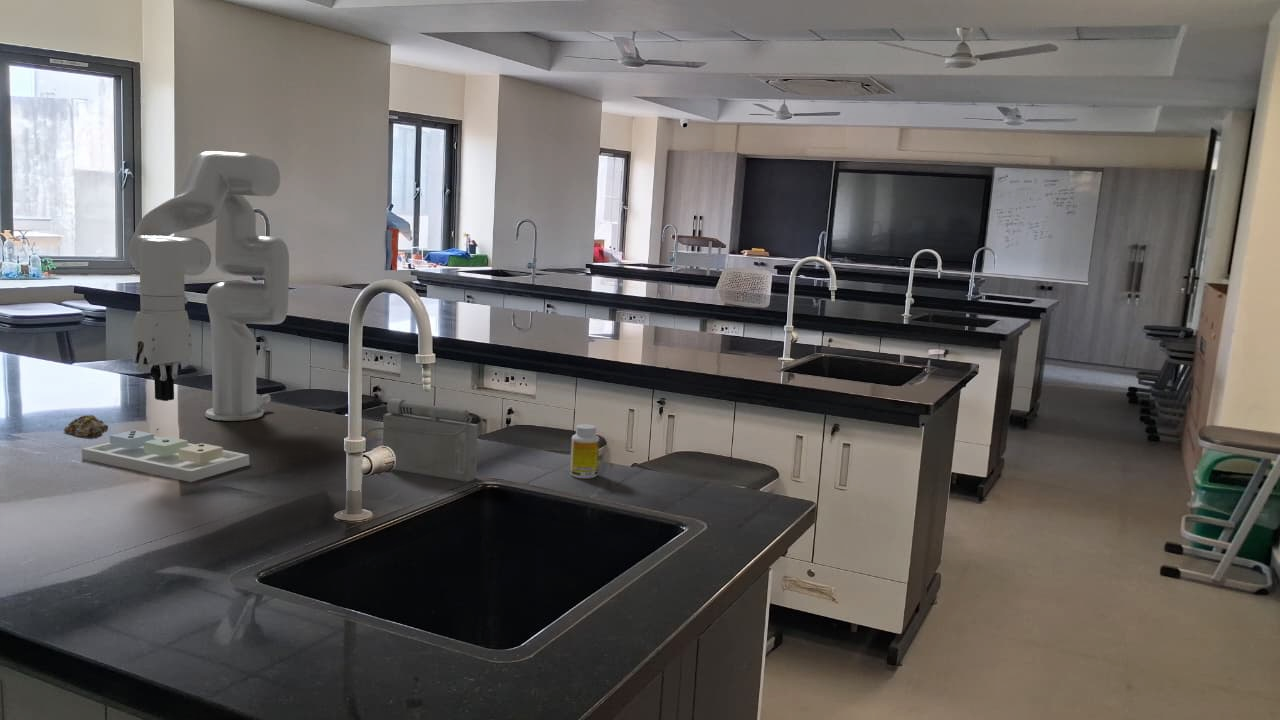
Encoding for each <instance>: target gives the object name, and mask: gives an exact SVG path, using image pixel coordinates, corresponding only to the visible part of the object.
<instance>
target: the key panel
mask: <svg viewBox="0 0 1280 720" xmlns="http://www.w3.org/2000/svg"><path fill="white" fill-rule="evenodd" d="M159 438H161V436H160V437H159V436H155V435H154V440H155V439H159ZM192 445H196V443H190V442H188V446H192ZM81 459H82V460H86V461H91V462H95V463H101V464H104V465H109V466H114V467H120V468H123V469H128V470H132V471H137V472H140V473H141V472H142V473H148V474H152V475H156V476H159V477H160V476H161V477H165V478H169V477H170V479H176V480H180V481H183V482H189V483H192V482H196V481H199V480H203V479H205V478H209V477H213V476H217V475H219V474H223V473H227V472H229V471H232V470H233V471H234V470H237V469H240V468H243V467H247V466H250V454H246V453H242V452H238V451H237V452H236V451H230V450H225V449H223V457H222V458H219V459H215V460H212V461H208V462H204V463H201V464H199V463H195V462H190V461H185V460H180V459H179V453H176V454H172V455H168V456H160V455H155V454H150V453H145V452H144V446H143V447H138V448H134V449H126V448H121V447H116V446H111V445H110V442H105V443H102V444H96V445H92V446H88V447H83V448H81Z"/></svg>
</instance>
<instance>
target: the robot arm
mask: <svg viewBox="0 0 1280 720" xmlns="http://www.w3.org/2000/svg"><path fill="white" fill-rule="evenodd" d="M280 185H281V173H280V168H279V167H278V165H277V163H276V162H275V161H274V160H273V159H271V158H270V157H263V156H260V155H257V154H252V153H246V152H234V151H232V152H231V151H219V150H208V151H202V152H199V153H198V154H197V155H195V156H194V157H193V159H192V160H191V163H190V165H189V167H188V169H187V171H186V174H185V176H184V179H183V182H182V183H181V185H180V188H179V190H178V194H177V195H176V196H175V197H172V198H170V199H168V200H166V201H165V202H163V203H161V204H160V205H158V206H156V207H155V208H153V209H151V210H150V211H149V212H147V213H146V214H145V215H144V216H143V217H142V218H141V219H140V221H139V223H138V224H137V226H136V228H135V231H134V233H133V235H132V238H131V239H130V244H129V249H128V259H129V263H130V264H131V267H133V269H135V270H136V271H138V272H139V297H140V299H139V300H140V303H139V304H140V311H136V314H135V318H134V323H133V329H132V341H131V342H132V343H131V344H132V345H131V357H132V362H134V364H137V372H140V373H146V374H149V376H150V378H151V379H152V380H154V398H155V400H158V401H163V402H169V401H174V400H175V380H176V379H177V377H178V373H179V372H180V370H181V369H184V368H186V367H188V366H189V365H190V359H191V358H192V357H191V356H192V346H193V345H192V334H191V333H192V332H191V325H190V318H189V314H188V311H187V310H186V306H185V305H187V303H188V300H189V299H188V297H186V296H185V294H186V293H185V276H188V277H189V276H194V277H195V276H199V275H201V274H203V273H204V272H206V271H207V270H208V269H209V267H210V264H211V261H212V252H211V249H210V247H209V245H208V244H207V243H206V242H205V241H204V240H203V239H199V238H197V237H194V236H193V237H192V236H177V235H174V234H177V233H179V232H183V231H187V230H193V229H195V228H198V227H202V226H204V225H207V224H211V223H212V222H214V221H215V248H214V250H215V251H214V252H215V253H214V254H215V257H214V258H215V265H216V268H217V270H218V271H219V273H222V274H224V275H228V276H235V277H236V276H237V277H253V278H263V279H264V280H265V283H264V282H248V281H221V282H217V283H215V284H212V286H211V287H210V288H209V289H208V291H207V293H206V307H207V310H208V316H209V323H210V331H211V365H212V366H211V367H212V368H211V369H212V371H211V372H212V373H211V374H212V375H211V376H212V378H211V379H212V380H211V381H212V407H211V408H208V409H207V410H206V411H205V417H206V418H207V419H209V418H210V420H212V421H213V420H214V421H221V420H222V421H221V422H223V421H224V422H225V421H226V422H238V421H239V422H240V421H248V420H255V419H258V418H260V417H261V418H262V416H263V415H264V409H263V408H261V407H260V406H261V405H262V404H267V403H270V402H271V400H272V397H271V395H270V394H268V393H267V394H262V395H260V394H257V343H256V339H255V336H254V335H253V333H252V332H251V330H250V329H249V327H248V326H247V324H248V325H249V324H252V325H253V324H254V325H279V324H282V323H283V322H284V321H285V320H286V318H287V317H288V316H287V315H288V311H289V310H288V309H289V289H290V287H289V282H290V280H289V279H290V256H289V255H290V254H289V249H288V246H287V244H286V242H285V241H284V240H282V239H281V238H280V237H276V236H269V235H268V236H267V235H266V236H265V235H257V230H256V229H257V227H256V226H257V224H256V223H257V221H256V220H257V214H256V211H255V210H254V208H253V206H252V205H251V203H250V202H249V200H248V199H247V198H246V197H245V196H251V197H252V196H253V197H266V198H267V197H272V196H274V195H275V194H276V193H277V192H278V190H279V188H280ZM172 234H173V235H172Z"/></svg>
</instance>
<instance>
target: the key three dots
mask: <svg viewBox="0 0 1280 720" xmlns="http://www.w3.org/2000/svg"><path fill="white" fill-rule="evenodd" d="M154 436H155V433H150V432H146V431H140V430H137V429H135V430H134V429H133V430H129V431H124V432H120V433H116V434H110V436H109V441H110V445H111V446H116V447H121V448H126V449H134V448H138V447H143V446H144V442H146V441H150V440H154Z"/></svg>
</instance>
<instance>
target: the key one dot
mask: <svg viewBox="0 0 1280 720" xmlns="http://www.w3.org/2000/svg"><path fill="white" fill-rule="evenodd" d="M188 443H189V441H188V440H186V439H182V438H176V437H171V436H163V437H160V438H159V439H155V440H150V441H146V442H144V452H145V453H150V454H155V455H160V456H168V455H172V454H176V453H179V449H180V448H184V447H188Z"/></svg>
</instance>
